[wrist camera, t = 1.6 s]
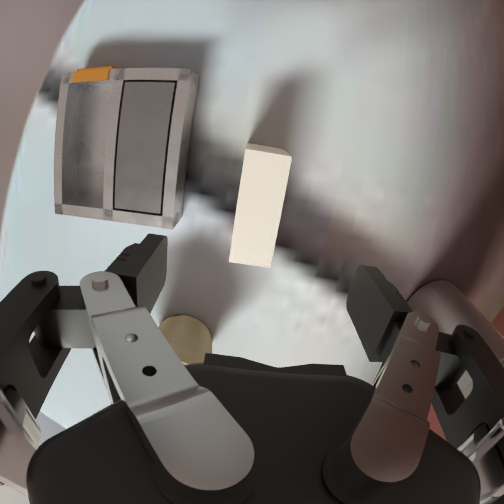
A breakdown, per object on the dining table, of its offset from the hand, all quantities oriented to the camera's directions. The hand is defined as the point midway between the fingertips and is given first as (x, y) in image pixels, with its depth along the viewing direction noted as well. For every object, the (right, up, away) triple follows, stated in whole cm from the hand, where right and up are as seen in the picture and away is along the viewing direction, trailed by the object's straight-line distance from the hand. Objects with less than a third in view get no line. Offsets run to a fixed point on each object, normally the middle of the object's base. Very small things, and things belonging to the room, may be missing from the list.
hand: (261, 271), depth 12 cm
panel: (0, +6, +14) cm, 16 cm away
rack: (-12, +11, +12) cm, 20 cm away
